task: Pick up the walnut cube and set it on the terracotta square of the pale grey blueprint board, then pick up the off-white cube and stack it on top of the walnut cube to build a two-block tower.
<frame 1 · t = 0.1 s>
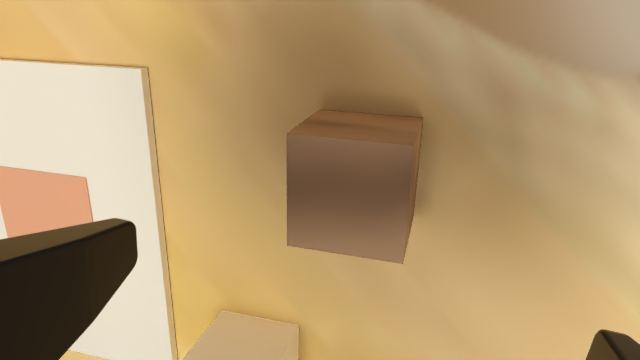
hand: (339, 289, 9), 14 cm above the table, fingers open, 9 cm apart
blueprint board: (55, 219, 30), on the table
offwhite cube: (261, 349, 29), on the table
walnut cube: (367, 162, 23), on the table
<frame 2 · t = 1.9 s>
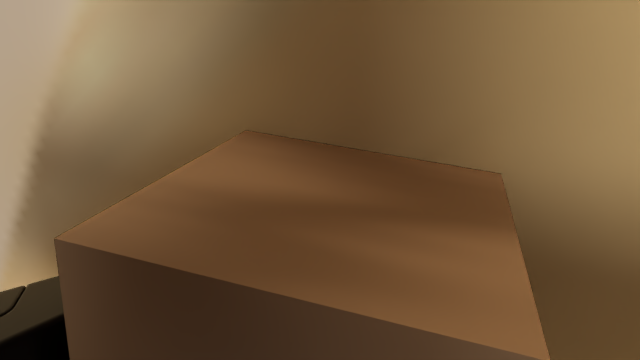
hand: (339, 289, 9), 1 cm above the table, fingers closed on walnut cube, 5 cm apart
walnut cube: (350, 262, 10), on the table, touching gripper
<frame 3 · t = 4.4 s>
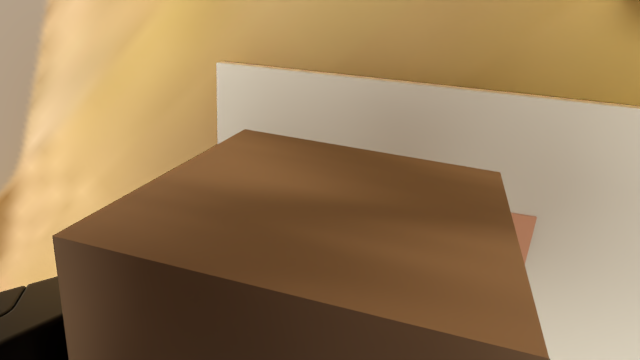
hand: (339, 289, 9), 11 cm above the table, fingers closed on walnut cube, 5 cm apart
blueprint board: (431, 268, 21), on the table
walnut cube: (349, 261, 10), point 10 cm above the table, touching gripper
when the fingers open (2 cm above the table, at t = 6.8 s): walnut cube stays where it is, resting on blueprint board.
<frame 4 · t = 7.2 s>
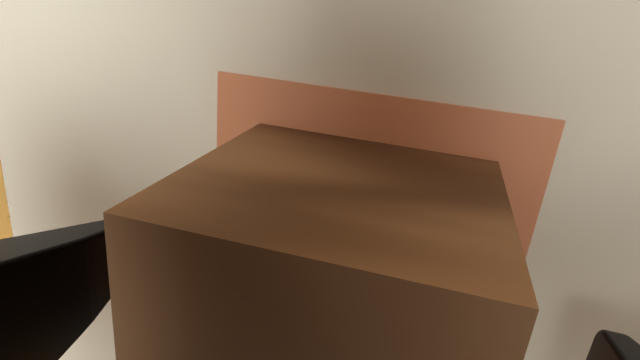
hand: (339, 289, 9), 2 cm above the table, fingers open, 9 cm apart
blueprint board: (362, 234, 11), on the table
walnut cube: (358, 247, 11), point 1 cm above the table, touching blueprint board
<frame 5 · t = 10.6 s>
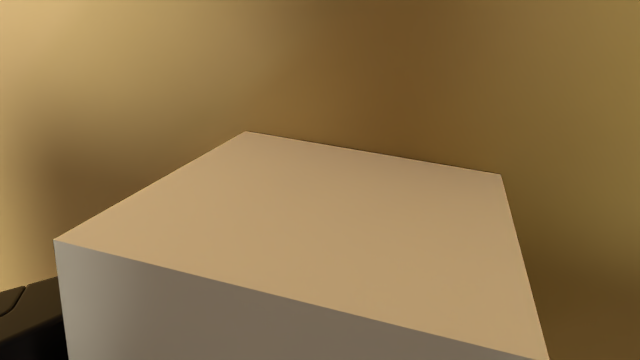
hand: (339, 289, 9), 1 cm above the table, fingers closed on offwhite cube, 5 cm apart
offwhite cube: (350, 263, 10), on the table, touching gripper
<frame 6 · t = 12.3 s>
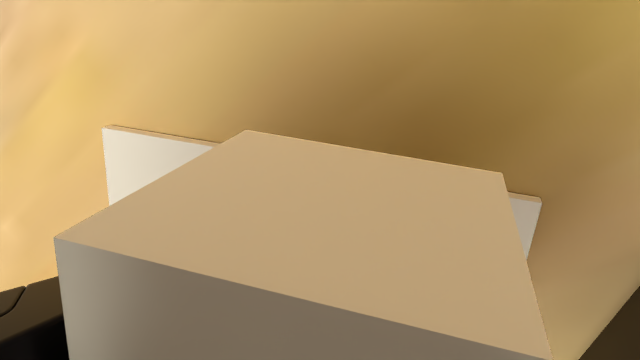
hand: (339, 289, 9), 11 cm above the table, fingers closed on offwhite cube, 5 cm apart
blueprint board: (291, 305, 24), on the table
offwhite cube: (351, 262, 10), point 10 cm above the table, touching gripper
when the fingers open (8 cm above the table, at t = 14.0 s): offwhite cube stays where it is, resting on walnut cube.
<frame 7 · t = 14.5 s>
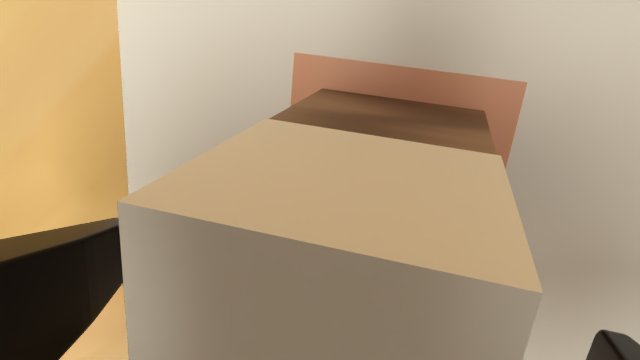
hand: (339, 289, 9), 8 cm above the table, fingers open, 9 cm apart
blueprint board: (390, 168, 16), on the table
offwhite cube: (362, 240, 11), point 6 cm above the table, touching walnut cube
walnut cube: (388, 174, 15), point 1 cm above the table, touching blueprint board, offwhite cube
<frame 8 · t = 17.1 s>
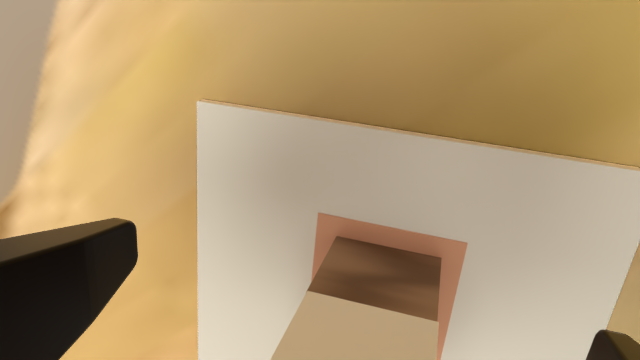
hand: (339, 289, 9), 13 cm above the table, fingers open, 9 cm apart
blueprint board: (381, 283, 24), on the table
offwhite cube: (363, 358, 18), point 6 cm above the table, touching walnut cube
walnut cube: (380, 291, 23), point 1 cm above the table, touching blueprint board, offwhite cube
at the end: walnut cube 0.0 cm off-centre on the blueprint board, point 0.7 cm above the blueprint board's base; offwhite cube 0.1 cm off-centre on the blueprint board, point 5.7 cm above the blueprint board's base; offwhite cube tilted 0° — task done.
